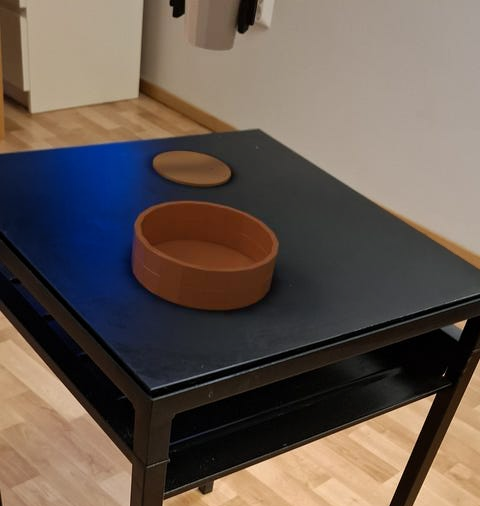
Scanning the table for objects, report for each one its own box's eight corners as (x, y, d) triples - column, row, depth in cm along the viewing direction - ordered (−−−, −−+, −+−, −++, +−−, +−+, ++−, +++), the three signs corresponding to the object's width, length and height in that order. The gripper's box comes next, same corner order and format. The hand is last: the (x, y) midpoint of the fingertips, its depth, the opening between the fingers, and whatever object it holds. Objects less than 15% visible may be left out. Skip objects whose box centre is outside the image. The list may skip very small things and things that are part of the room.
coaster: (136, 163, 94) (136, 158, 93) (192, 150, 100) (193, 145, 100) (190, 194, 89) (191, 190, 89) (246, 179, 96) (246, 174, 95)
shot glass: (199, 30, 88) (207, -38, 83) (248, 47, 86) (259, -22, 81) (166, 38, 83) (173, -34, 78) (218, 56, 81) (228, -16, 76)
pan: (102, 260, 74) (104, 219, 71) (202, 228, 83) (207, 190, 80) (201, 328, 68) (207, 286, 65) (297, 285, 77) (306, 247, 74)
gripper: (137, -198, 69) (125, 12, 81) (317, -158, 68) (279, 49, 80) (162, -196, 75) (147, 0, 86) (328, -159, 74) (291, 34, 85)
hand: (210, 22), depth 83 cm, fingers closed on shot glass, 6 cm apart
